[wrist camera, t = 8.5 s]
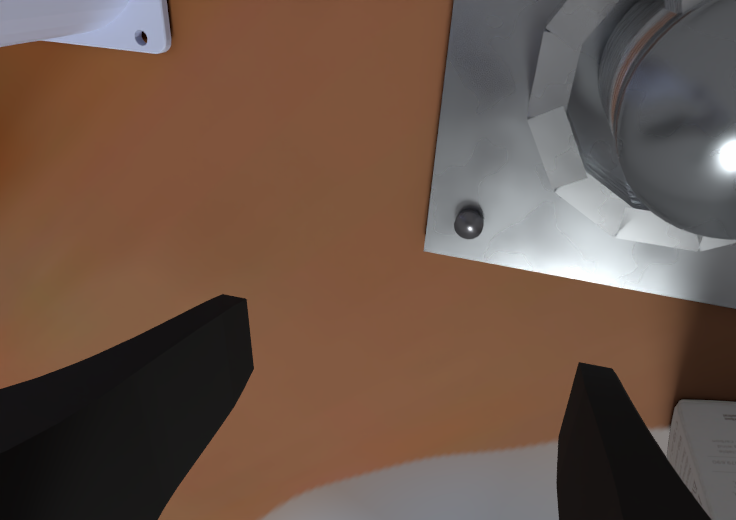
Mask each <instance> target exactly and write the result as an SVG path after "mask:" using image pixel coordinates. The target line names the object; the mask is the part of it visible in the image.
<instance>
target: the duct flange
mask: <svg viewBox="0 0 736 520" xmlns="http://www.w3.org/2000/svg"><path fill="white" fill-rule="evenodd" d="M639 1H640V0H454V4H453V12H452V21H451V29H450V37H449V46H448V54H447V62H446V71H445V79H444V87H443V96H442V104H441V112H440V121H439V129H438V137H437V146H436V154H435V163H434V171H433V179H432V188H431V196H430V204H429V213H428V221H427V229H426V238H425V246H424V251H427V252H432V253H437V254H443V255H448V256H454V257H459V258H464V259H470V260H475V261H481V262H486V263H491V264H497V265H502V266H508V267H513V268H518V269H524V270H529V271H535V272H540V273H545V274H551V275H556V276H562V277H567V278H572V279H578V280H583V281H589V282H594V283H599V284H605V285H610V286H616V287H621V288H626V289H632V290H637V291H643V292H648V293H653V294H659V295H664V296H670V297H675V298H680V299H686V300H691V301H696V302H702V303H707V304H713V305H718V306H723V307H729V308H734V309H736V240H726V239H717V238H710V237H705V236H701V235H696V234H693V233H690V232H687V231H684V230H682V229H679V228H677V227H675V226H673V225H671V224H669V223H667V222H665V221H664V220H662V219H661V218H659V217H658V216H656V215H655V214H653V213H652V212H651V211H650V210H649V209H648V208H647V207H646V206H645V205H644V204H642V202H641V201H640V200H639V199H638V197H637V196H636V195H635V194H634V192H633V191H632V189H631V187H630V186H629V184H628V182H627V181H626V178H625V176H624V173H623V171H622V168H621V165H620V162H619V159H618V156H617V153H616V148H615V144H614V138H613V135H612V132H611V129H610V126H609V123H608V121H607V118H606V115H605V112H604V109H603V107H602V104H601V100H600V96H599V90H598V71H599V65H600V60H601V57H602V54H603V51H604V48H605V46H606V43H607V41H608V39H609V37H610V35H611V34H612V32H613V30H614V29H615V27H616V26H617V24H618V23H619V22H620V21H621V19H622V18H623V17H624V15H625V14H626V13H627V12H628V11H629V10H630V9H631V8H632V7H633V6H634V5H635V4H637V3H638V2H639Z"/></svg>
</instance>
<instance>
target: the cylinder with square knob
mask: <svg viewBox="0 0 736 520" xmlns="http://www.w3.org/2000/svg"><path fill="white" fill-rule="evenodd" d="M598 90H599V96H600V100H601V104H602V107H603V109H604V112H605V115H606V118H607V121H608V123H609V126H610V129H611V132H612V135H613V138H614V144H615V148H616V153H617V156H618V159H619V162H620V165H621V168H622V171H623V173H624V176H625V178H626V181H627V182H628V184H629V186H630V187H631V189H632V191H633V192H634V194H635V195H636V196H637V197H638V199H639V200H640V201H641V202H642V204H644V205H645V206H646V207H647V208H648V209H649V210H650V211H651V212H652V213H653V214H655V215H656V216H658V217H659V218H661V219H662V220H664V221H665V222H667V223H669V224H671V225H673V226H675V227H677V228H679V229H682V230H684V231H687V232H690V233H693V234H696V235H701V236H705V237H710V238H717V239H726V240H736V0H640V1H639V2H638V3H637V4H635V5H634V6H633V7H632V8H631V9H630V10H629V11H628V12H627V13H626V14H625V15H624V17H623V18H622V19H621V21H620V22H619V23H618V24H617V26H616V27H615V29H614V30H613V32H612V34H611V35H610V37H609V39H608V41H607V43H606V46H605V48H604V51H603V54H602V57H601V60H600V65H599V71H598Z"/></svg>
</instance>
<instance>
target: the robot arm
mask: <svg viewBox="0 0 736 520" xmlns="http://www.w3.org/2000/svg"><path fill="white" fill-rule="evenodd" d="M142 31H144V33H145V34H146V36H147V38H148V39H147V43H145V42H144V40H143V39H142ZM39 40H43V41H51V42H60V43H68V44H77V45H86V46H94V47H103V48H111V49H120V50H128V51H137V52H145V53H154V54H158V53H163V52H166V51H167V50H169V48H170V46H171V33H170V24H169V16H168V8H167V0H0V47H2V46H8V45H14V44H21V43H27V42H33V41H39ZM253 369H254V366H253V356H252V347H251V337H250V328H249V318H248V309H247V300H246V299H245V298H239V297H234V296H229V295H224V294H222V295H220V296H217V297H215V298H213V299H211V300H208V301H206V302H204V303H202V304H200V305H198V306H196V307H194V308H192V309H190V310H188V311H186V312H184V313H182V314H180V315H178V316H176V317H174V318H172V319H170V320H168V321H166V322H164V323H162V324H160V325H158V326H156V327H154V328H152V329H150V330H148V331H146V332H144V333H142V334H140V335H138V336H136V337H134V338H132V339H130V340H127V341H125V342H123V343H121V344H119V345H116V346H114V347H112V348H110V349H108V350H105V351H103V352H101V353H99V354H97V355H94V356H92V357H90V358H87V359H85V360H83V361H80V362H78V363H75V364H73V365H70V366H68V367H65V368H62V369H59V370H57V371H54V372H51V373H49V374H46V375H43V376H40V377H38V378H35V379H32V380H29V381H25V382H22V383H19V384H16V385H12V386H9V387H6V388H3V389H0V520H158V518H159V516H160V515H161V513H162V511H163V509H164V507H165V506H166V504H167V503H168V501H169V500H170V498H171V496H172V495H173V493H174V492H175V490H176V489H177V487H178V486H179V484H180V483H181V482H182V480H183V479H184V477H185V476H186V475H187V473H188V472H189V470H190V469H191V467H192V466H193V465H194V463H195V462H196V460H197V459H198V458H199V456H200V455H201V453H202V452H203V451H204V449H205V448H206V446H207V445H208V444H209V442H210V441H211V439H212V438H213V437H214V435H215V434H216V432H217V431H218V429H219V428H220V427H221V425H222V424H223V422H224V421H225V419H226V418H227V416H228V415H229V414H230V412H231V411H232V409H233V408H234V406H235V404H236V402H237V401H238V399H239V397H240V395H241V393H242V391H243V390H244V388H245V386H246V383H247V381H248V379H249V377H250V375H251V373H252V371H253ZM557 497H558V511H559V520H711V518H710V517H709V516H708V514H707V513H706V512H705V511H704V509H703V508H702V507H701V505H700V504H699V503H698V501H697V500H696V499H695V497H694V496H693V494H692V493H691V492H690V490H689V489H688V488H687V486H686V485H685V484H684V482H683V481H682V479H681V478H680V477H679V475H678V474H677V472H676V471H675V469H674V468H673V467H672V465H671V464H670V462H669V461H668V459H667V458H666V456H665V455H664V453H663V452H662V450H661V449H660V447H659V445H658V444H657V442H656V441H655V439H654V438H653V436H652V435H651V433H650V431H649V430H648V428H647V427H646V425H645V423H644V422H643V420H642V418H641V417H640V415H639V413H638V412H637V410H636V408H635V407H634V405H633V403H632V401H631V400H630V398H629V396H628V394H627V393H626V391H625V389H624V387H623V385H622V384H621V382H620V380H619V378H618V376H617V375H616V373H615V372H614V371H613V369H612V368H606V367H601V366H596V365H591V364H585V363H580V362H579V364H578V367H577V371H576V375H575V378H574V382H573V386H572V390H571V393H570V397H569V401H568V404H567V408H566V412H565V415H564V419H563V423H562V426H561V430H560V434H559V440H558V462H557Z"/></svg>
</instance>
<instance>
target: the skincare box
mask: <svg viewBox="0 0 736 520" xmlns="http://www.w3.org/2000/svg"><path fill="white" fill-rule="evenodd" d="M667 459H668V461H669V462H670V464H671V465H672V467H673V468H674V469H675V471H676V472H677V474H678V475H679V477H680V478H681V479H682V481H683V482H684V484H685V485H686V486H687V488H688V489H689V490H690V492H691V493H692V494H693V496H694V497H695V499H696V500H697V501H698V503H699V504H700V505H701V507H702V508H703V509H704V511H705V512H706V513H707V514H708V516H709V517H710V518H711V520H736V402H729V401H715V400H684V399H683V400H679V402H678V404H677V405H676V406H675V408H674V413H673V417H672V423H671V429H670V435H669V442H668V451H667Z"/></svg>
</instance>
